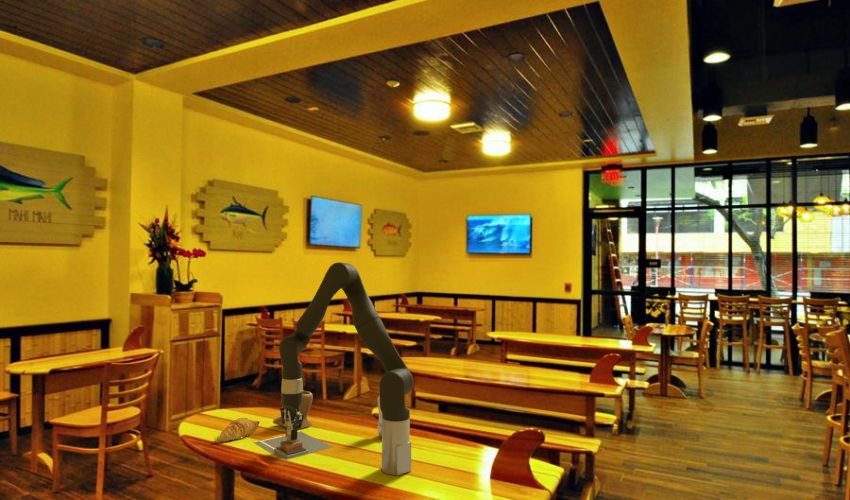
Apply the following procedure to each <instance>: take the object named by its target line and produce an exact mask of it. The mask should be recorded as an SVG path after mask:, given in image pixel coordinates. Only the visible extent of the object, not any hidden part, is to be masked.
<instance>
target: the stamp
mask: <svg viewBox="0 0 850 500" xmlns="http://www.w3.org/2000/svg"><path fill="white" fill-rule="evenodd" d="M294 420H295V419H294ZM292 421H293V420H292ZM286 425H287V438H286V440H285V441H281V442H280V448H282V449H283V450H285V451H287V452H290V451H294V450H297V449H301V448H302V442H301V441H299V440H293V441H292V440H291V424H290V423H289V420H288V421H287V424H286ZM293 425H294V423H293Z"/></svg>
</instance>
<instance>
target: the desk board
mask: <svg viewBox="0 0 850 500" xmlns="http://www.w3.org/2000/svg"><path fill="white" fill-rule="evenodd" d="M285 435H286V434H284V435H279V436H275V437H271V438H267V439H263V440H260V441H258V440H257V441H256V442H253V444H255V445H256V446H259V447H260V448H262V449H263V450H265V451H267V452H268V453H270V454H271V455H274V456H275V457H277V458H279V460H282V461H289V460H291V459H295V458H299V457H302V456H306V455H310V454H314V453H317V452H321V451H324V450H328V449H332V448H333V446H332V445H330V444H328V443H326V442H324V441H322V440H319V439H317V438H316V437H313V436H312V435H309V434H307V433H305V432H303V431H297V440H299V441H301V442H302V448H301V449H297V450H294V451H290V452H287V451H285V450H283V449H282V448H280V442H281V441H285V440H286V438H287V437H286V436H285Z"/></svg>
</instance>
